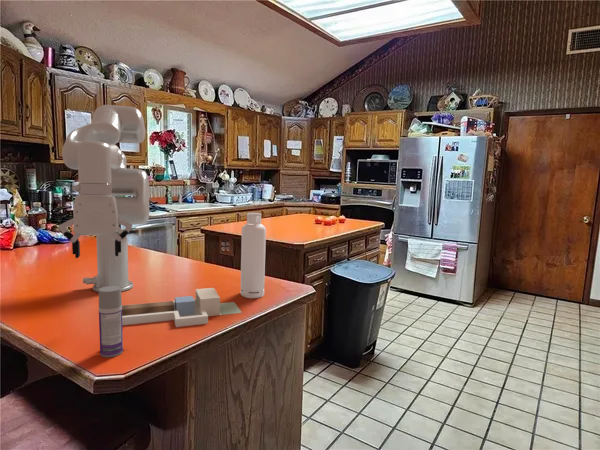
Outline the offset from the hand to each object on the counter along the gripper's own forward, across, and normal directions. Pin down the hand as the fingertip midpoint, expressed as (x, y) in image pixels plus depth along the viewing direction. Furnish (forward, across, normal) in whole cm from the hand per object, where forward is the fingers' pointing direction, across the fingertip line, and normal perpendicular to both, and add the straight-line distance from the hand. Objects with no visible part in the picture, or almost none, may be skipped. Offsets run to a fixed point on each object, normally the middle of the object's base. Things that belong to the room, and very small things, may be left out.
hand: (97, 255), depth 103 cm
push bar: (+18, +12, 0) cm, 22 cm away
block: (+18, +22, 0) cm, 28 cm away
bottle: (+18, +46, +12) cm, 51 cm away
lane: (+18, +21, -3) cm, 28 cm away
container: (+19, +4, -20) cm, 27 cm away
